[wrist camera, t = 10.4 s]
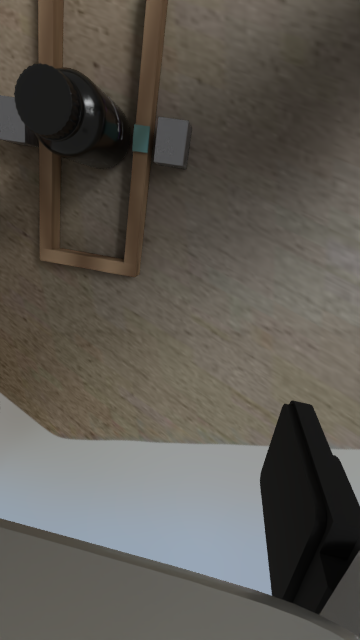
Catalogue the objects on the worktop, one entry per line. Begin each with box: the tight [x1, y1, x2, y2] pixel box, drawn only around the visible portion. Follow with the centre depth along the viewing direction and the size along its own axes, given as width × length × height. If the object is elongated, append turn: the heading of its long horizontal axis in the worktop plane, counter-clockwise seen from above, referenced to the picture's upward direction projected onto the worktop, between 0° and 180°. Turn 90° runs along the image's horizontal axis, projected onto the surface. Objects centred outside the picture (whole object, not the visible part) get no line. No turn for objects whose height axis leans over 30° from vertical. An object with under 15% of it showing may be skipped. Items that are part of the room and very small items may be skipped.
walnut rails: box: [38, 0, 168, 277], centre depth 35 cm, size 12×28×2 cm, turn 172°
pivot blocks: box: [0, 95, 192, 169], centre depth 34 cm, size 20×4×3 cm, turn 82°
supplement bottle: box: [14, 63, 130, 169], centre depth 30 cm, size 7×7×12 cm
